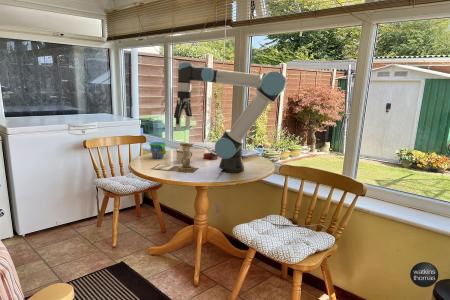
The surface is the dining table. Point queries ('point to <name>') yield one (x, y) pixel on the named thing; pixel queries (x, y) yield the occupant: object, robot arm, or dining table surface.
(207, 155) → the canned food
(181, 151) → the teacup with lid
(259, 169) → the dining table surface
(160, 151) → the snack cup
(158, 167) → the board
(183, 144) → the carved statue
